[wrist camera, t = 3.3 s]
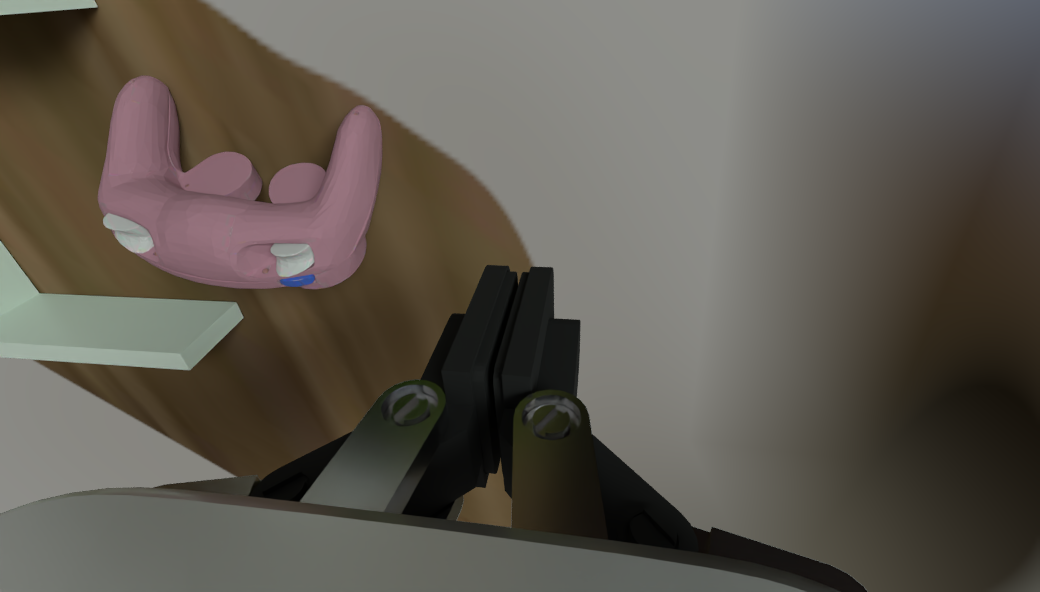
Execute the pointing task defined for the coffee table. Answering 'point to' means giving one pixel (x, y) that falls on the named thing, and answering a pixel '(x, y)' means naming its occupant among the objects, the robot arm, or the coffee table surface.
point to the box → (102, 305)
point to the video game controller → (236, 201)
